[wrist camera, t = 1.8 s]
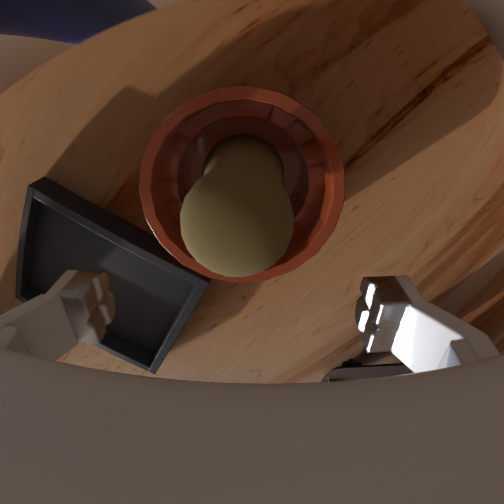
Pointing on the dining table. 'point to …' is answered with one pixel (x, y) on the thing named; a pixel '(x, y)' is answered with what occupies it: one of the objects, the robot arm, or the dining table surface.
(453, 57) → the dining table surface
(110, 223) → the tray
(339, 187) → the bowl
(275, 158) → the olive green bottle
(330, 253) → the dining table surface
